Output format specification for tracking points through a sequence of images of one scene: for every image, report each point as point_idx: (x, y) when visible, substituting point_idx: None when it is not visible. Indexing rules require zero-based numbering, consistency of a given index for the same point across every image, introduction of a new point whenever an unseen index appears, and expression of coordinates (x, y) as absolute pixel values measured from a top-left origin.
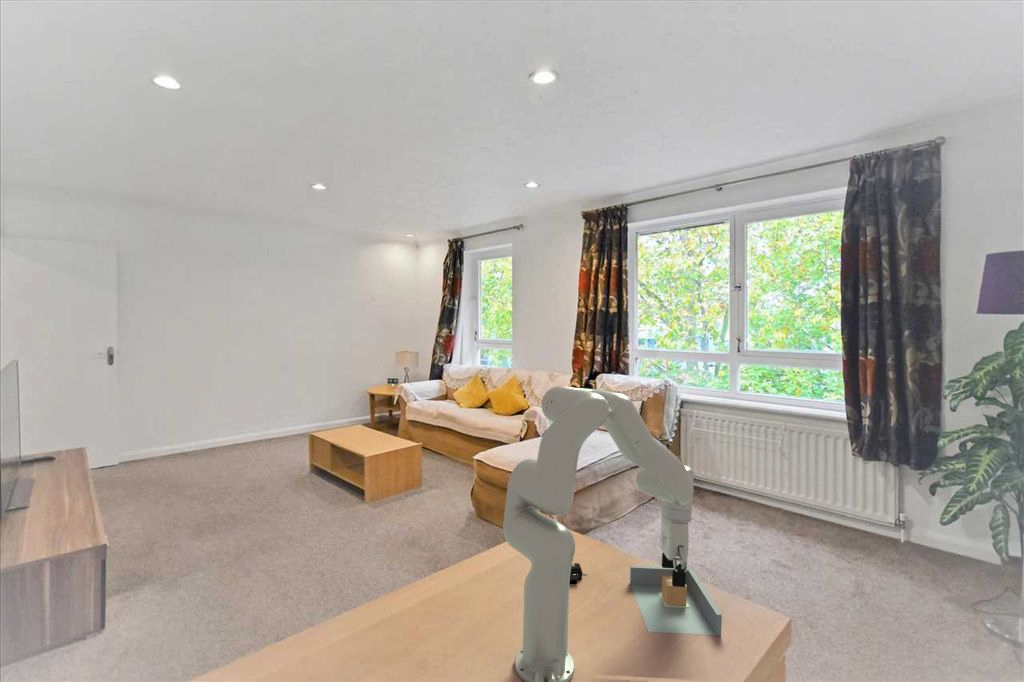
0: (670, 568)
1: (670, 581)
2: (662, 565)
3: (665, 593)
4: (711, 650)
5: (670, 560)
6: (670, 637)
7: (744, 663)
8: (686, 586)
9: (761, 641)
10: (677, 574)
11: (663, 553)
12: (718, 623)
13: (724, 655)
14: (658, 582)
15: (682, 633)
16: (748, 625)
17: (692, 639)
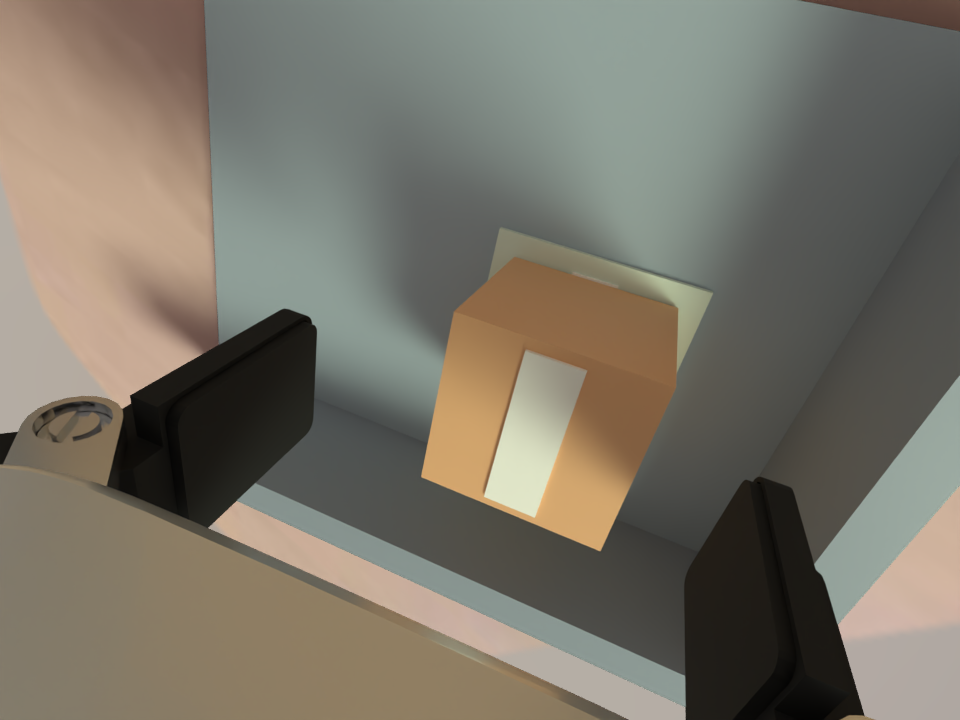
0: (826, 583)
1: (521, 391)
2: (764, 494)
3: (547, 292)
4: (139, 264)
5: (708, 639)
6: (205, 77)
7: (91, 350)
8: (422, 473)
9: (228, 516)
10: (129, 406)
11: (794, 679)
12: None
13: (119, 302)
14: (840, 377)
15: (212, 174)
16: (326, 558)
17: (204, 218)
